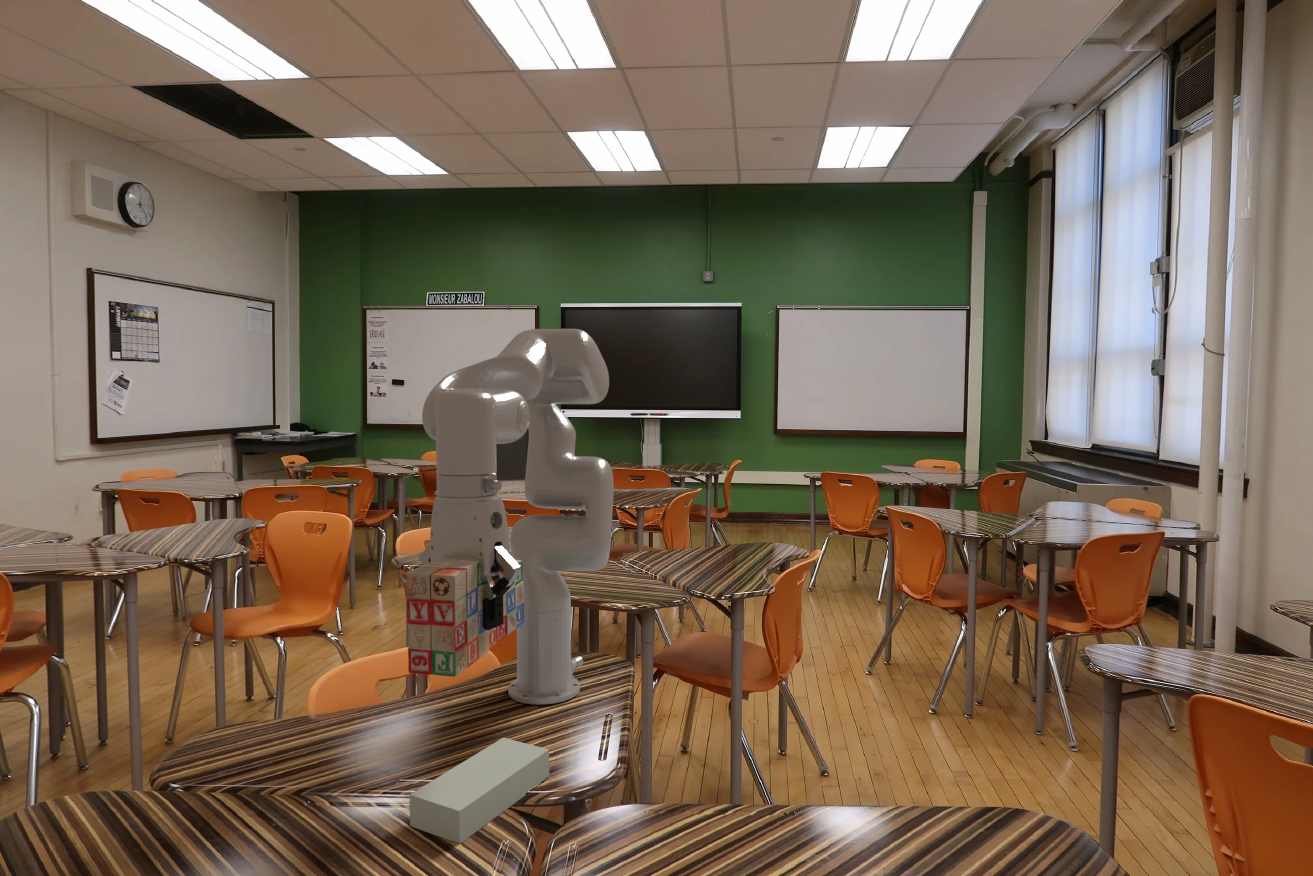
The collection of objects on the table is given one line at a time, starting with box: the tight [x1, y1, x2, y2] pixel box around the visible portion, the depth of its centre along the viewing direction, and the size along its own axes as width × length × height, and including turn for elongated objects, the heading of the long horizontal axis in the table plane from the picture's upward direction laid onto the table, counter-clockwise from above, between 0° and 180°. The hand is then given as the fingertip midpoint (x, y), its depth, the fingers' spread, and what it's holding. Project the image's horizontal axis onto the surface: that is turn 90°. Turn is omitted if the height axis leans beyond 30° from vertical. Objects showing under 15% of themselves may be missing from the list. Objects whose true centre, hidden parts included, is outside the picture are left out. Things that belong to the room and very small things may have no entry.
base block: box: [409, 737, 550, 844], centre depth 103 cm, size 18×8×4 cm, turn 152°
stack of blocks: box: [406, 557, 524, 678], centre depth 102 cm, size 21×6×12 cm, turn 168°
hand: (469, 621), depth 102 cm, fingers closed on stack of blocks, 7 cm apart
